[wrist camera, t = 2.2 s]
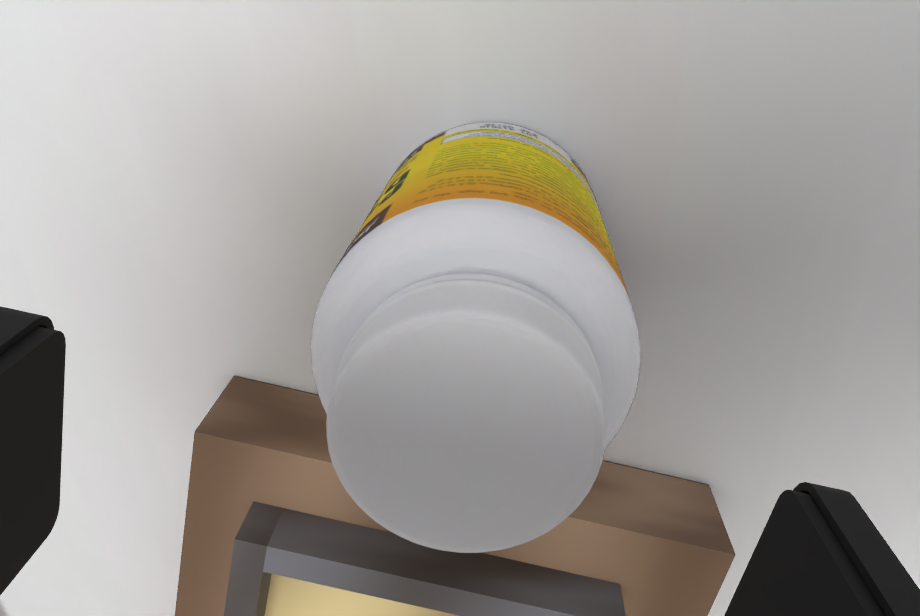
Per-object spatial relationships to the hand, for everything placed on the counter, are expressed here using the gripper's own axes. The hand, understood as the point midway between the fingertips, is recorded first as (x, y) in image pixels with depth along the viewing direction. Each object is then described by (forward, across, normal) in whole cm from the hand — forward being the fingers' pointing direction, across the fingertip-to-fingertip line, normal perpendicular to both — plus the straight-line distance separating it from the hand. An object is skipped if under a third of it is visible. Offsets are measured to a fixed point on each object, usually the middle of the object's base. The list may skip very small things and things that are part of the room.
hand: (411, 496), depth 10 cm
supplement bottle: (+11, -1, 0) cm, 11 cm away
